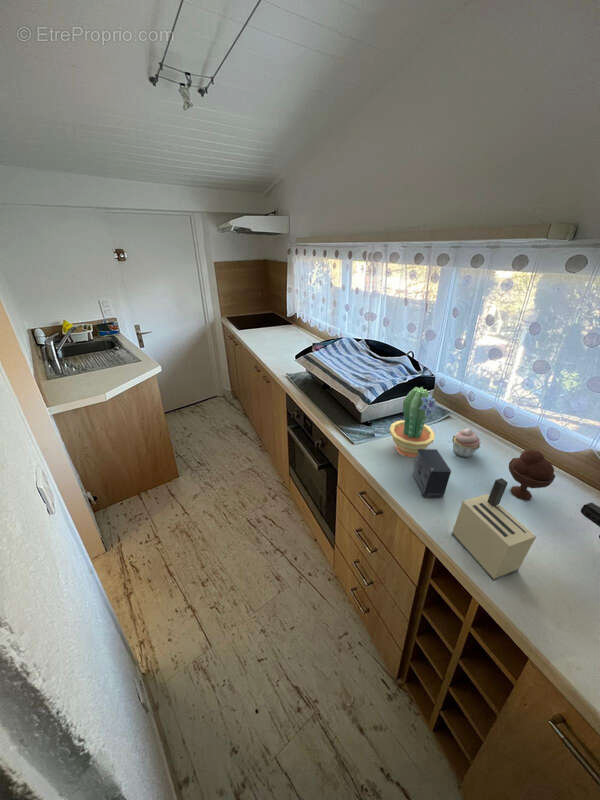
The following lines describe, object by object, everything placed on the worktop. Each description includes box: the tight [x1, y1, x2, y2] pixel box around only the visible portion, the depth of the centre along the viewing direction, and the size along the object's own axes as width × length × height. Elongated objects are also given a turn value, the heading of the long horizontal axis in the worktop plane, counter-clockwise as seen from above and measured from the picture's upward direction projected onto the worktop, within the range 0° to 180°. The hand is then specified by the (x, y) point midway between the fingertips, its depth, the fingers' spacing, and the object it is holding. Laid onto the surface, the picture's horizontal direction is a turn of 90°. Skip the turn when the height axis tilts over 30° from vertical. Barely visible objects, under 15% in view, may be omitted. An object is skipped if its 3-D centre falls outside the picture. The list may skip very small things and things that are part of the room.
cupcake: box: [451, 428, 481, 458], centre depth 108 cm, size 9×9×10 cm
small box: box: [411, 448, 452, 499], centre depth 93 cm, size 11×6×10 cm, turn 0°
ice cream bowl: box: [508, 448, 556, 501], centre depth 89 cm, size 11×11×15 cm
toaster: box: [451, 493, 537, 581], centre depth 73 cm, size 8×13×12 cm, turn 18°
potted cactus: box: [389, 386, 437, 458], centre depth 106 cm, size 15×15×25 cm
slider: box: [487, 477, 509, 506], centre depth 72 cm, size 2×2×7 cm
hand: (585, 506), depth 55 cm, fingers closed
